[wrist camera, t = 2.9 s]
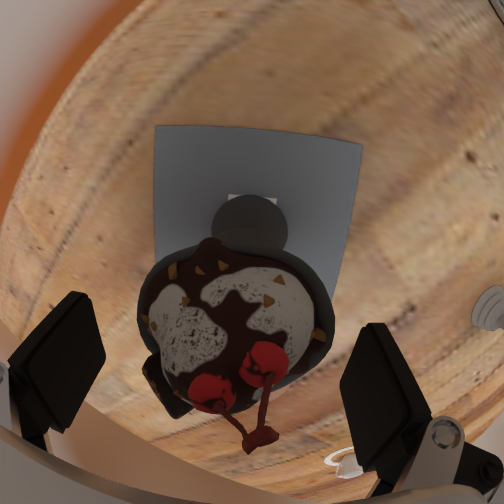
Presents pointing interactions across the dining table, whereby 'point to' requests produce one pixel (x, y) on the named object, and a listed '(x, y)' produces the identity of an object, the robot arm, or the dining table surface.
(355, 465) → the teacup and saucer
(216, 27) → the dining table surface
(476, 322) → the chalice
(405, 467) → the robot arm
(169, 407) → the sundae
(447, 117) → the dining table surface
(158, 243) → the card
